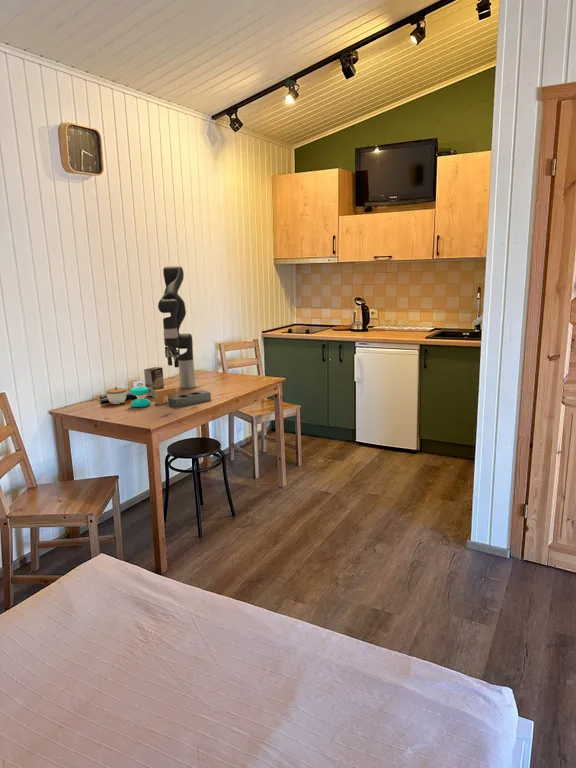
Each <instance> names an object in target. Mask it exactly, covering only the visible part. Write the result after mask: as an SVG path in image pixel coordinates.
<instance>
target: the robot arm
mask: <svg viewBox="0 0 576 768" xmlns="http://www.w3.org/2000/svg"><path fill="white" fill-rule="evenodd" d="M162 270H163V271H162V273H163V274H162V275H163V279H164V283H165V288H164V292H163V295H162V297H161V298H160V299H159V302H158V305H157V309H158V311H159V312H160V313H163V314H168V313H169V314H170V315H169V316H167V317H164V318H163V319H162V324H163V341H164V353H165V355H164V356H165V358H166V359H167V365H168V367H169V366H170V367H172V366H174V368H176V369H177V368H178V378H179V380H178V381H179V387H180V389H192V388H195V387H196V377H195V364H194V350H193V349H194V348H193V347H194V346H193V345H194V344H193V336H192V334H191V333H180V327H181V325H182V323H183V321H184V319H185V318H186V313H187V311H186V303H185V301H184V299H183V298H182V297H181V295H179V293H178V292H179V290H180V287H181V285H182V283H183V281H184V270H183V267H182V266H181V265H169V266H165V267H163V269H162ZM180 350H186V351H185V352H183V353H181V351H180ZM173 364H174V365H173Z"/></svg>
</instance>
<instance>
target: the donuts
mask: <svg viewBox="0 0 576 768" xmlns="http://www.w3.org/2000/svg"><path fill="white" fill-rule="evenodd" d="M148 392H149V388H148V387H146V386H142V385H141V386H134V387H132V388H130V389H129V394H130V395H132V396H144V395H146V394H147V393H148ZM150 405H151V401H150V400H149V399H148V398H143V397H142V398H135V399H133V400H132V401H131V403H130V406H132V407H133V408H135V407H141V408H146V407H148V406H150ZM145 406H146V407H145Z"/></svg>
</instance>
